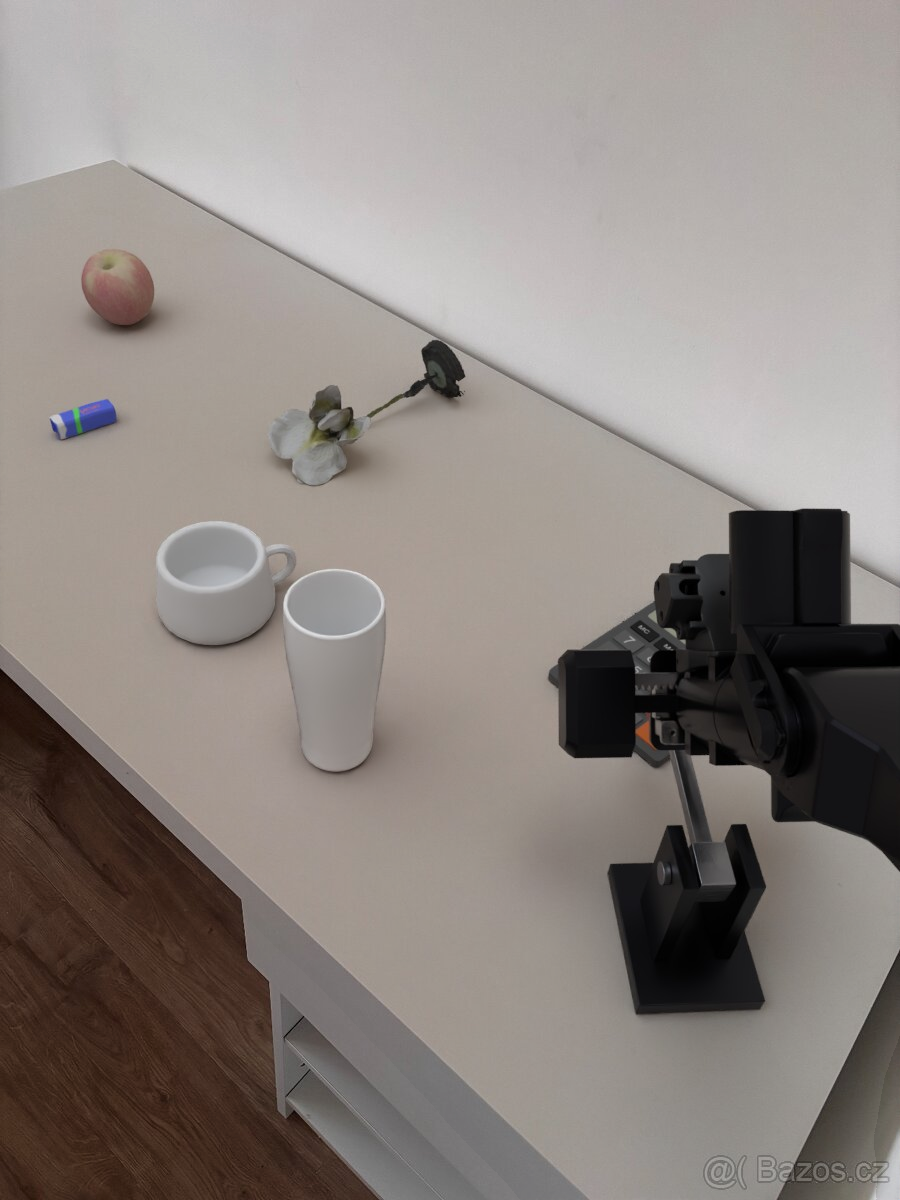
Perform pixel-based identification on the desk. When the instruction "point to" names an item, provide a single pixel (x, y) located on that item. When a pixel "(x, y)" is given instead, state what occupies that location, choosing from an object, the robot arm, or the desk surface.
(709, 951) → the switch bracket
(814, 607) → the robot arm
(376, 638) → the drinking glass
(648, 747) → the calculator
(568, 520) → the desk surface
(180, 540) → the mug
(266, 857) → the desk surface
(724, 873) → the lever
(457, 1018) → the desk surface
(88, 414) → the eraser
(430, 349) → the artificial flower
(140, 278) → the apple
